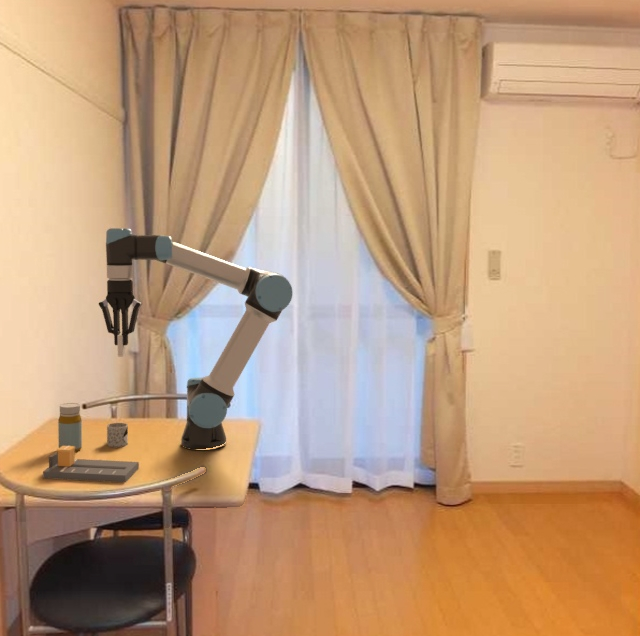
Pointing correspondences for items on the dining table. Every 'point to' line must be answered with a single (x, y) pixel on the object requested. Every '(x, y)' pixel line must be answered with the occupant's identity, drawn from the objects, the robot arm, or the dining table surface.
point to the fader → (66, 455)
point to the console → (91, 470)
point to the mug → (117, 434)
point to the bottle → (70, 426)
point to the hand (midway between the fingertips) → (121, 355)
